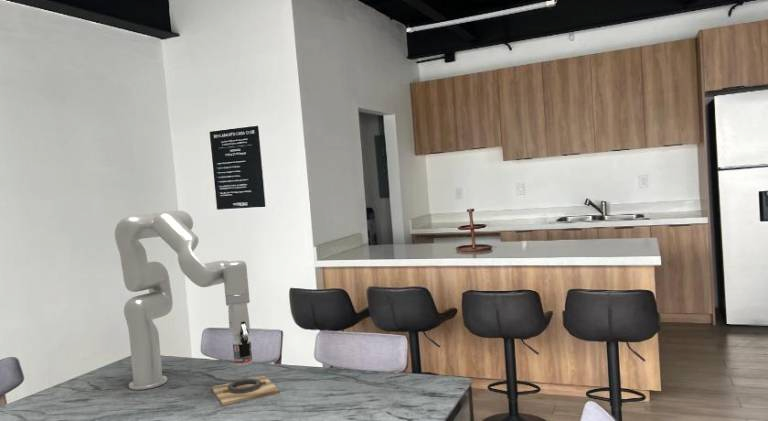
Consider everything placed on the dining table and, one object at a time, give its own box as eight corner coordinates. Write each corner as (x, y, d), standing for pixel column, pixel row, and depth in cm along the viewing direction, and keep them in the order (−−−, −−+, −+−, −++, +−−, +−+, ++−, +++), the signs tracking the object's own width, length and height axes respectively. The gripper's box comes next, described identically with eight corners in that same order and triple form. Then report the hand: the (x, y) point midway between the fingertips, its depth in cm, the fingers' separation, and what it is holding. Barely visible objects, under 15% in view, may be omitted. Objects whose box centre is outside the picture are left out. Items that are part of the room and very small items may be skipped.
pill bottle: (247, 365, 184) (244, 334, 184) (231, 365, 185) (228, 335, 185) (255, 360, 189) (252, 330, 189) (239, 360, 191) (236, 330, 190)
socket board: (211, 389, 192) (211, 382, 191) (264, 378, 200) (264, 371, 200) (222, 405, 175) (221, 397, 175) (279, 392, 183) (279, 385, 183)
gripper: (220, 297, 193) (225, 351, 193) (231, 304, 177) (236, 362, 178) (243, 294, 196) (248, 346, 196) (255, 300, 181) (260, 357, 181)
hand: (242, 353), depth 187 cm, fingers closed on pill bottle, 5 cm apart
